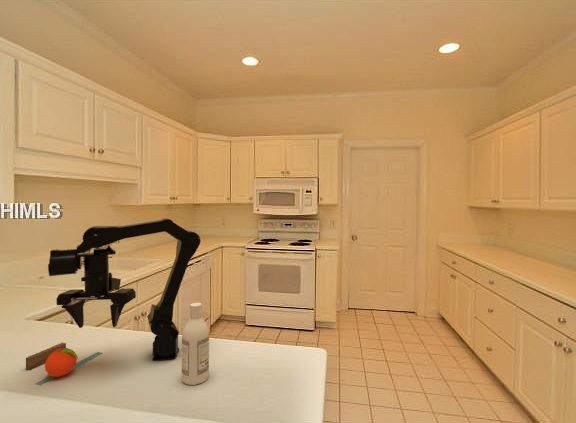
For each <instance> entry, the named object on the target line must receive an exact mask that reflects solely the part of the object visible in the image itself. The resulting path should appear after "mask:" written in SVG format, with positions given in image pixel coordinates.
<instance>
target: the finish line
mask: <svg viewBox="0 0 576 423" xmlns="http://www.w3.org/2000/svg"><path fill="white" fill-rule="evenodd" d="M102 354H103V352H100V351H97V352H95V353H93V354H91V355H89V356H87V357H85V358H83V359H81V360H79V361H76V364H75V366H74V368H73V369H75V368H77V367H78V366H81V365H83V364H85V363H87V362H88V361H91V360H93V359H94V358H96V357H98V356H101V355H102ZM56 378H57V377H55V376H51V375H48V376H47V377H45V378H43V379H42V380H39V381H37V382H35V383H34V385H37V386H42V385H44V384H46V383H48V382H50V381H51V380H54V379H56Z"/></svg>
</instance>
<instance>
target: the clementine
mask: <svg viewBox="0 0 576 423" xmlns="http://www.w3.org/2000/svg"><path fill="white" fill-rule="evenodd" d="M78 359H79V358H78V354H77V353H76V352H75V351H74V350H73V349H71V348H68V347H66V348H61V349H58V350H56V351H54V352H53V353H52V354H51V355H50V356H49V357H48V358H47V360H46V363H45V364H44V368H45V369H44V370H45V371H46V373H47V374H48V376H55V377H56V378H59V377H62V376H65V375H67V374H69V373H71V372H72V370H73V369H75V368H74V366H75V364H76V363H77V362H78V361H77V360H78Z"/></svg>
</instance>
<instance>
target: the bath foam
mask: <svg viewBox="0 0 576 423" xmlns="http://www.w3.org/2000/svg"><path fill="white" fill-rule="evenodd" d="M209 364H210V331H209V326H208V324H207V322H206V321H205V320H204V318H203V317H202V303H201V302H193V303H191V304H189V319H188V320H187V322H186V324H185V325H184V327H183V330H182V335H181V380H182V382H183V384H185V385H188V386H195V385H199V384H202V383H203V382H205V381H206V380H207V379H208V378H209V374H210V368H209V367H210V365H209Z"/></svg>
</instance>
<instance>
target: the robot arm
mask: <svg viewBox="0 0 576 423" xmlns="http://www.w3.org/2000/svg"><path fill="white" fill-rule="evenodd" d="M159 233H166V234H168V235H169V236H171V237H172V238H174V239H175V240H177V242H176V247H175V248H176V249H175V250H176V251H175V258H174V261H173V263H172V267H171V269H170V272H169V274H168V278H167V281H166V283H165V285H164V289H163V292H162V295H161V298H160V299H159V301H158V302H157V304H153V303H152V304H151V306H150V311H149V313H148V314H147V315H146V317H147V320H148V324H149V329H150V331H151V333H152V334H154V335H155V336H154V340H153V341H152V356H153V357H152V361H167V360H175V359H177V358H176V357H177V356H178V353H179V352H180V347H179V334H180V332H179V329H178V328H177V326H176V324H175V322H174V321H173V319H174V317H173V316H174V305H175V302H176V298H177V296H178V294H179V291H180V287H181V285H182V282H183V279H184V277H185V273H186V271H187V268H188V265H189V262H190V260H191V259H192V258H193V256H194V255H195V254H196V253H197V251H198V248H199V246H200V244H201V237H200V235H199V234H198V233H197V232H195V231H192V230H186V229H185V228H183V227H181V226H180V225H178V224H177V223H175V222H174V221H173V219H170V218H162V219H158V220H157V219H156V220H150V221H145V222H140V223H134V224H133V223H132V224H124V225H93V226H90V227H89V228H88V229H87V230H85V231H84V233H83V235H82V242H81V243H80V244H78V245H76V248H71V249H69V248H68V249H51V250H50V252H49V260H48V261H49V262H48V265H47V268H48V269H47V270H48V275H49V277H56V276H57V277H58V276H64V275H65V276H66V275H76V274H77V273H78V270H82V267H83V270H84V273H83V274H84V276H82V277H81V278H80V281H81V282H84V289H82V288H81V289H79V288H78V289H76V288H75V289H68V290H66V291H63V292H61V293H59V294H58V295H57V297H56V303H55V304H56V306H60V307H61V308H62V309H64V310H65V311H66V312H67V313H68V314H69V315H70V316H71V318H72V319H73V321H74V322H75V324H76V325H77V327H78V328H79V329H82V328H84V320H85V319H84V318H85V317H84V306H85V303H86V301H96V300H98V301H101V300H102V301H104V300H105V301H106V300H107V301H108V300H110V302H111V303H112V304H110V307H109V308H110V316H111V317H110V318H111V324H112V328H115V327H117V326H118V323H119V320H120V317H121V315H122V312H123V309H124V307H125V306H126V305H127V304H128V303H130V302H131V301H133V300H134V299H136V297H137V294H136V290H135V289H134V288H133V287H132V288H130V287H129V288H120V286H121V283H122V282H121V281H122V279H121V278H117V277H113V273H112V272H109V271H110V269H109V256H110V255H116V253H117V251H116V249H114V248H112V247H111V244H113V243H116V242H119V241H121V240H124V239H131V238H136V237H142V236H148V235H154V234H159ZM105 246H107V247H105ZM102 247H105V248H102ZM91 249H93V252H88V251H90V250H91ZM82 258H83V264H82ZM82 265H83V266H82ZM112 291H114V292H112Z"/></svg>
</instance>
